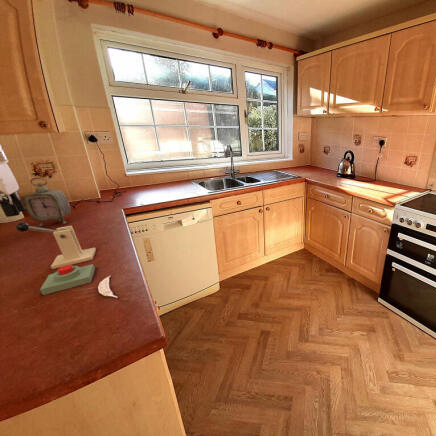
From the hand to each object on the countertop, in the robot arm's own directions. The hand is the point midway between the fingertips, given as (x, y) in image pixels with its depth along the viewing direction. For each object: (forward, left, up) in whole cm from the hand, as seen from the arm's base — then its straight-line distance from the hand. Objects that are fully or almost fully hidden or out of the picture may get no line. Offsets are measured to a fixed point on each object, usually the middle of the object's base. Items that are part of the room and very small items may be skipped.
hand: (16, 213), depth 83 cm
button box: (+12, -18, -21) cm, 30 cm away
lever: (+4, 0, -9) cm, 10 cm away
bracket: (+10, 0, -21) cm, 23 cm away
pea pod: (+23, -30, -21) cm, 44 cm away
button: (+12, -18, -18) cm, 28 cm away
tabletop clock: (-7, +53, -21) cm, 58 cm away
